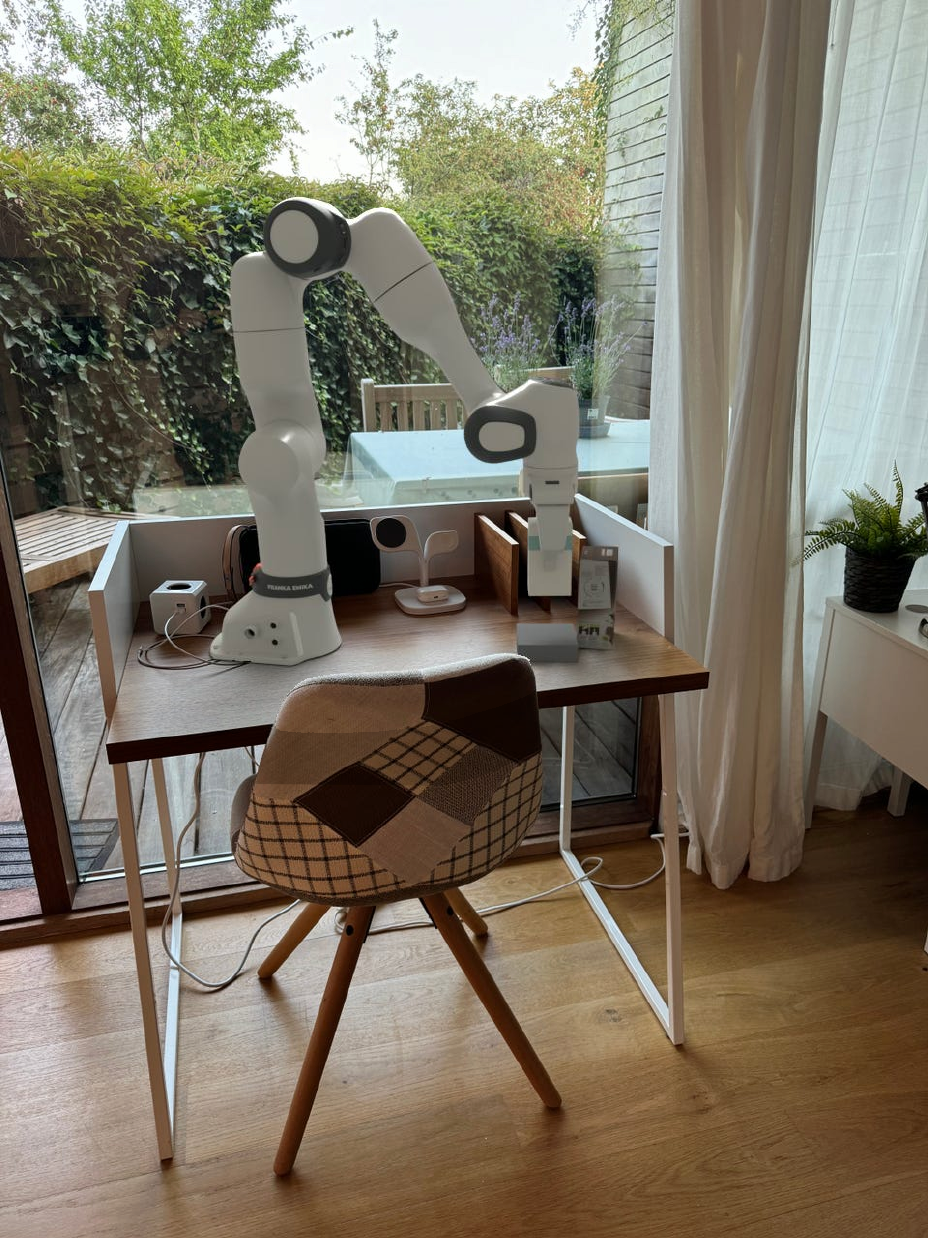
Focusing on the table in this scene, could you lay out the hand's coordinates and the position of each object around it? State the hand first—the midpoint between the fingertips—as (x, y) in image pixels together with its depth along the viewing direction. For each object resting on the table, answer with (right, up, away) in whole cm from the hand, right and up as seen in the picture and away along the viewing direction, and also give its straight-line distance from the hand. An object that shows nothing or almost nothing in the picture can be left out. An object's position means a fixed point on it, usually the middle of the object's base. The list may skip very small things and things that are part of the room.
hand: (548, 564), depth 146 cm
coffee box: (+9, -13, +10) cm, 19 cm away
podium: (0, -14, +5) cm, 15 cm away
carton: (0, -4, +2) cm, 5 cm away
